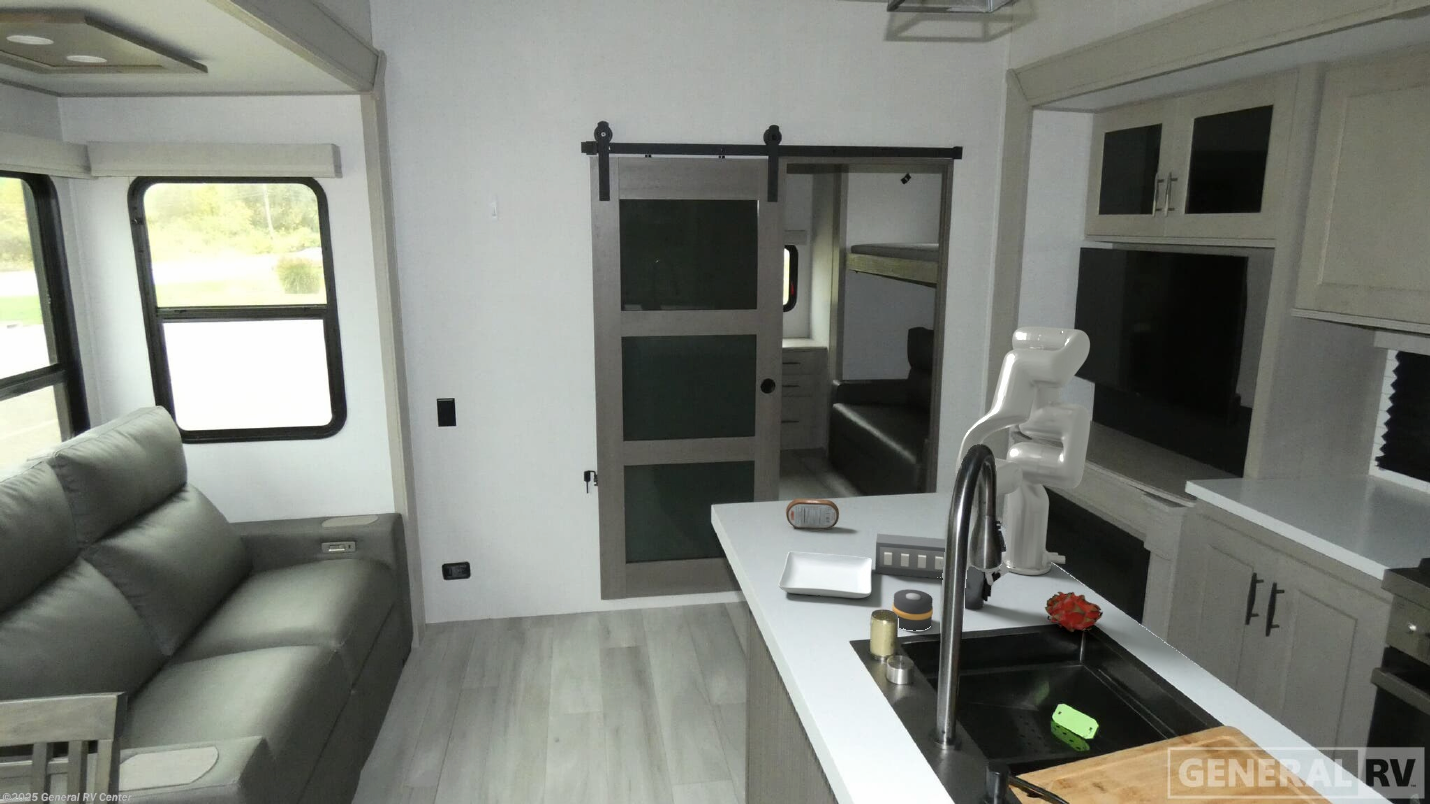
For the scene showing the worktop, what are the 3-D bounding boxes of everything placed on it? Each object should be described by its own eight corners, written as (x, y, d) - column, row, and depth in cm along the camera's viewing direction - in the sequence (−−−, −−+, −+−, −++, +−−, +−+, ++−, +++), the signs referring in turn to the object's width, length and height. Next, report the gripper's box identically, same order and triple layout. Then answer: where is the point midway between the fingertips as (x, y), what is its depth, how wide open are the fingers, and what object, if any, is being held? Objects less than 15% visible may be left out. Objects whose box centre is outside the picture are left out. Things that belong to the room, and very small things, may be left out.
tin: (838, 527, 230) (839, 498, 228) (839, 530, 227) (839, 502, 225) (785, 525, 231) (786, 497, 230) (785, 529, 228) (786, 501, 227)
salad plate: (871, 606, 181) (871, 592, 180) (777, 598, 185) (777, 585, 184) (872, 569, 201) (872, 556, 200) (787, 563, 205) (787, 550, 204)
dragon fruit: (1037, 630, 172) (1094, 641, 171) (1052, 624, 164) (1112, 635, 163) (1038, 591, 175) (1094, 601, 174) (1052, 583, 167) (1111, 593, 166)
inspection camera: (982, 600, 182) (985, 559, 180) (984, 611, 177) (987, 568, 175) (959, 598, 184) (961, 557, 182) (960, 608, 178) (963, 566, 176)
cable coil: (931, 616, 175) (933, 589, 174) (932, 634, 167) (933, 606, 166) (892, 612, 177) (893, 586, 176) (891, 630, 169) (892, 602, 168)
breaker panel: (949, 570, 199) (951, 539, 198) (951, 582, 192) (953, 551, 190) (876, 563, 204) (877, 533, 202) (874, 575, 196) (875, 544, 195)
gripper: (1016, 518, 178) (1010, 594, 181) (936, 512, 182) (932, 587, 185) (1020, 529, 171) (1014, 609, 174) (937, 523, 175) (933, 601, 178)
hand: (972, 596), depth 180 cm, fingers closed on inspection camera, 5 cm apart
